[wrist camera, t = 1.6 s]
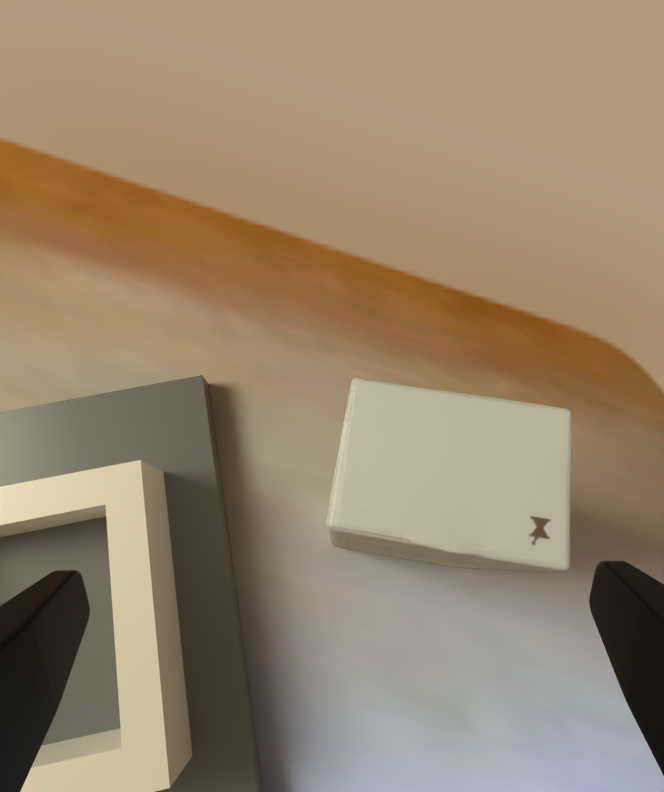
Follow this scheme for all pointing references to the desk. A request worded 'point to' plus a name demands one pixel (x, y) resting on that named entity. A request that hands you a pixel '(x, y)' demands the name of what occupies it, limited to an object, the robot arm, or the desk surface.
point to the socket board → (133, 589)
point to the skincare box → (453, 479)
